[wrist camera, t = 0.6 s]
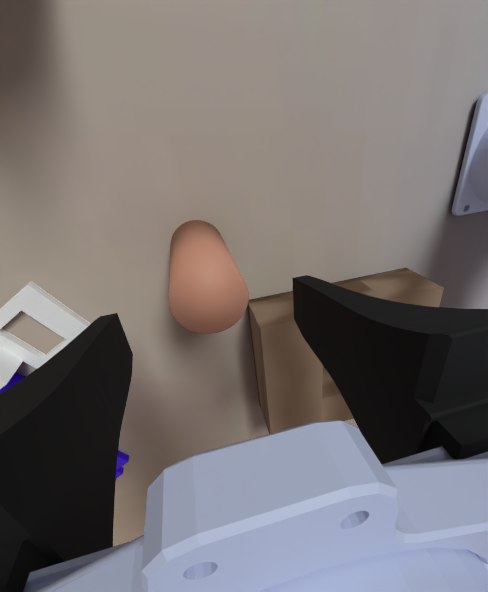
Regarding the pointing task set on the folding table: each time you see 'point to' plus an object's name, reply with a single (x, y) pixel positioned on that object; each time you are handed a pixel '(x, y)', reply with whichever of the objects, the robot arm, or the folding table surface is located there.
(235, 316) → the pin
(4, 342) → the building block set
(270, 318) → the socket block
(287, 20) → the folding table surface
